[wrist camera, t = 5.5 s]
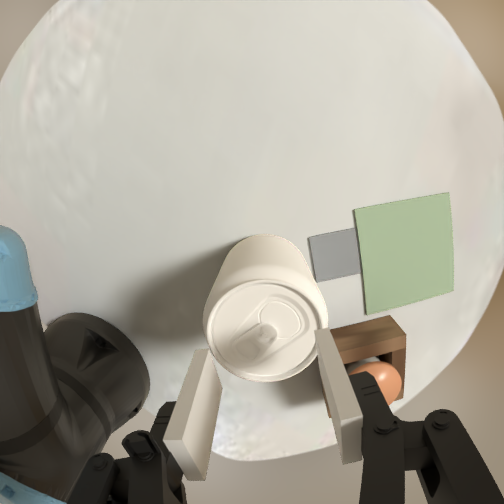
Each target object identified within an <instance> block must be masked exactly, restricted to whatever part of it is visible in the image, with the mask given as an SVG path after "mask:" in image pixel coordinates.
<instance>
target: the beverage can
mask: <svg viewBox="0 0 504 504" xmlns="http://www.w3.org/2000/svg"><path fill="white" fill-rule="evenodd" d="M327 327H328V313H327V307H326V304H325V301H324V299H323V296H322V294H321V292H320V290H319V288H318V286H317V284H316V282H315V280H314V277H313V275H312V273H311V271H310V269H309V267H308V265H307V263H306V261H305V259H304V257H303V255H302V254H301V252H300V251H299V250H298V248H297V247H296V246H295V245H293V244H292V243H291V242H289V241H288V240H286V239H284V238H282V237H279V236H276V235H270V234H260V235H254V236H251V237H248V238H246V239H244V240H242V241H240V242H239V243H237V244H236V245H235V246H234V247H233V248H232V249H231V250H230V252H229V253H228V255H227V256H226V258H225V260H224V262H223V265H222V267H221V269H220V271H219V274H218V276H217V278H216V280H215V282H214V285H213V287H212V289H211V291H210V294H209V296H208V298H207V301H206V303H205V306H204V311H203V330H204V335H205V338H206V340H207V343H208V345H209V348H210V350H211V352H212V354H213V356H214V357H215V358H216V360H217V361H218V362H219V363H220V364H221V365H222V366H223V367H224V368H225V369H226V370H228V371H229V372H231V373H232V374H234V375H236V376H238V377H240V378H243V379H246V380H250V381H255V382H275V381H280V380H284V379H287V378H290V377H292V376H294V375H296V374H298V373H299V372H301V371H302V370H304V369H305V368H306V367H307V366H308V365H310V363H311V362H312V361H313V360H314V359H315V357H316V356H317V348H316V341H315V334H314V330H318V329H323V328H327Z"/></svg>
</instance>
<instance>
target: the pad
mask: <svg viewBox="0 0 504 504" xmlns="http://www.w3.org/2000/svg"><path fill="white" fill-rule="evenodd" d="M354 212H355V218H356V225H357V232H358V239H359V246H360V254H361V263H362V272H363V281H364V291H365V303H366V315H370V314H374V313H378V312H382V311H386V310H389V309H393V308H397V307H401V306H404V305H408V304H411V303H415V302H418V301H422V300H425V299H429V298H432V297H435V296H439V295H442V294H445V293H448V292H451V291H454V253H453V230H452V216H451V205H450V195H449V193H442V194H436V195H430V196H425V197H419V198H413V199H408V200H402V201H397V202H391V203H385V204H380V205H375V206H369V207H364V208H358V209H354Z"/></svg>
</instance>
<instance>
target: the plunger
mask: <svg viewBox="0 0 504 504" xmlns="http://www.w3.org/2000/svg"><path fill="white" fill-rule="evenodd" d="M343 365H344V367H345V370H346V372H347V375H352V374H356V373H360V372H364V371H367V372H369V373H370V374H371V375H373V376H374V377H375V379H376V381H377V383H378V385H379V387H380V389H381V391H382V393H383V395H384V398H385V400H386V402H387V404H388V406H389V405H390V404H391V403H392V402H393V401H394V400H395V399H396V397H397V396H398V394H399V392H400V390H401V385H402V381H401V377H400V375H399V373H398V372H397V370H396V369H395V367H394V366H393V365H391V364H389V363H387V362H383V361H380V359H379V358H378V356H374V357H371V358H367V359H363V360H359V361H355V362H351V363H347V364H343Z"/></svg>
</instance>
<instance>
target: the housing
mask: <svg viewBox="0 0 504 504" xmlns="http://www.w3.org/2000/svg"><path fill="white" fill-rule="evenodd" d="M330 332H331V334H332V337H333V339H334V342H335V344H336V347H337V349H338V352H339V354H340V357H341V359H342V362H343V364H347V363H351V362H355V361H359V360H363V359H367V358H371V357H374V356H378V355H379V359H380V361H383V362H387V363H389V364H391V365H393V366H394V367H395V369H396V370H397V372H398V373H399V375H400V377H401V381H402V385H401V390H400V392H399V394H398V396H397V397H396V399H395V400H394V401H396V400H399V399H402V398H403V393H404V379H405V360H406V334H405V332H404V331H403V330H402V329H401V328H400V326H399V325H398V324H397V323H396V322H395V320H394V319H393V318H392V317H391V316H390V315H389V316H385V317H381V318H377V319H373V320H369V321H365V322H361V323H357V324H353V325H349V326H344V327H340V328H336V329H331V330H330ZM321 382H322V379H321ZM322 390H323V395H324V399H325V403H326V407H327V412H328V416H329V418H331V414H330V410H329V406H328V402H327V398H326V394H325V390H324V386H323V382H322Z"/></svg>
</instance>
